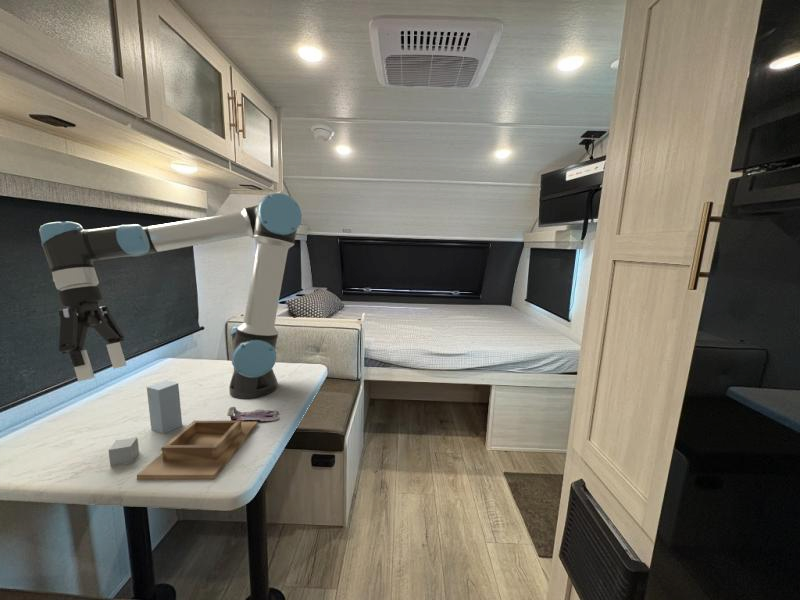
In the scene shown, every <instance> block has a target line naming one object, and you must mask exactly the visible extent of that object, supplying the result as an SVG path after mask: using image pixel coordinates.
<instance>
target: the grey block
mask: <svg viewBox="0 0 800 600" xmlns="http://www.w3.org/2000/svg"><path fill="white" fill-rule="evenodd" d="M139 454H140V449H139V441H138V437H137V436H135V437H130V438H125V439H124V438H122V439H117V440H115V441H114V443H112V445H111V446H110V447H109V449H108V457H109V465H110V467H114V466H121V465H125V464H130V463H133V462H134V461H135V459H136V458H137V456H138V455H139Z"/></svg>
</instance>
